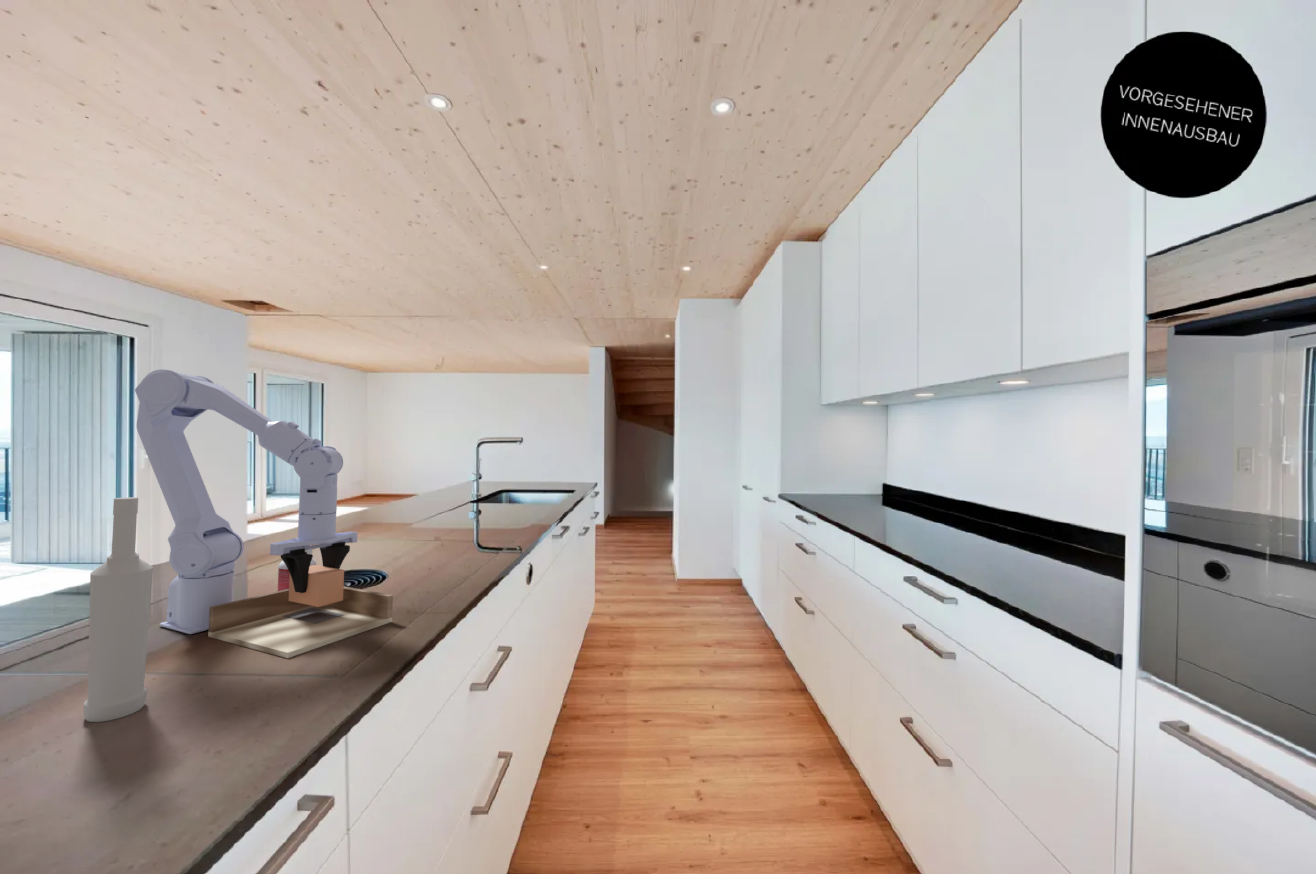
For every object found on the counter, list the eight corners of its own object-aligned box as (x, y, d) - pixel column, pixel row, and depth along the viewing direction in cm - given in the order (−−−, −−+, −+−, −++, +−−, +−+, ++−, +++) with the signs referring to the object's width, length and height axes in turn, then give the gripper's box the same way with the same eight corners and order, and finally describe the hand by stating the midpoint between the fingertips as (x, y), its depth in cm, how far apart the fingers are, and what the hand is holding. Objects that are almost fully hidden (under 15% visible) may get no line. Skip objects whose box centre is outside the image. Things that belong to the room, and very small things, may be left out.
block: (343, 600, 93) (344, 569, 93) (318, 607, 89) (319, 575, 89) (313, 594, 96) (314, 565, 96) (288, 600, 92) (289, 570, 92)
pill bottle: (314, 606, 100) (316, 549, 101) (275, 611, 97) (278, 552, 97) (314, 598, 106) (316, 544, 106) (277, 602, 102) (280, 547, 102)
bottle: (88, 728, 57) (100, 501, 57) (77, 714, 59) (88, 498, 60) (152, 708, 61) (162, 498, 62) (139, 696, 64) (149, 495, 64)
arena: (208, 636, 84) (209, 607, 84) (317, 606, 100) (318, 581, 100) (287, 658, 76) (288, 625, 76) (391, 621, 93) (392, 595, 93)
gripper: (290, 519, 85) (287, 602, 84) (369, 510, 98) (367, 581, 98) (263, 516, 87) (260, 596, 87) (344, 508, 101) (341, 577, 101)
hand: (315, 588), depth 93 cm, fingers closed on block, 4 cm apart
